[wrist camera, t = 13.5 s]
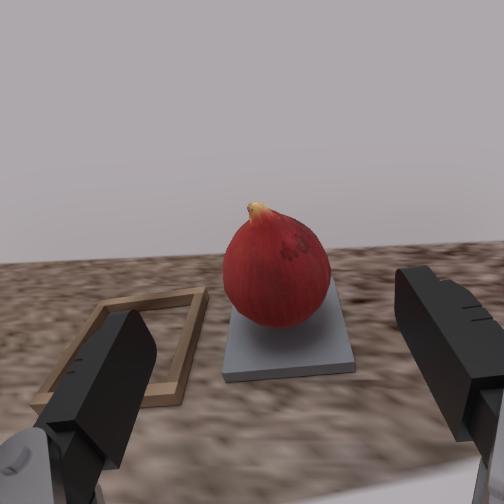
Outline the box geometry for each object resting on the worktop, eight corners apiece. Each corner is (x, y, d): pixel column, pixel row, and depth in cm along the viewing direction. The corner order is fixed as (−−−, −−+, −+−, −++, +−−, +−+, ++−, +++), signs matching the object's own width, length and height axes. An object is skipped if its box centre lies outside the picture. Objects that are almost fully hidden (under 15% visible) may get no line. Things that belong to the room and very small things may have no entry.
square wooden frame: (38, 414, 18) (28, 404, 18) (106, 309, 26) (100, 300, 25) (180, 404, 17) (174, 393, 16) (209, 296, 24) (205, 286, 24)
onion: (320, 282, 22) (306, 170, 17) (349, 347, 17) (338, 212, 12) (238, 300, 22) (204, 194, 18) (242, 369, 17) (197, 244, 13)
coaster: (225, 382, 17) (221, 373, 17) (237, 298, 23) (234, 290, 23) (355, 371, 16) (354, 361, 16) (333, 286, 22) (332, 277, 22)
